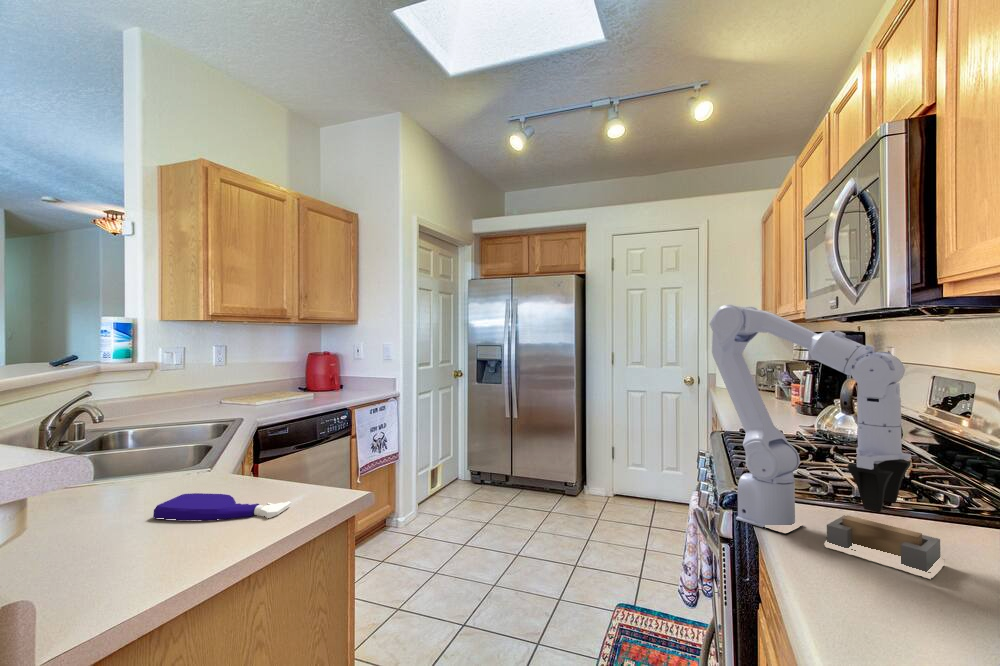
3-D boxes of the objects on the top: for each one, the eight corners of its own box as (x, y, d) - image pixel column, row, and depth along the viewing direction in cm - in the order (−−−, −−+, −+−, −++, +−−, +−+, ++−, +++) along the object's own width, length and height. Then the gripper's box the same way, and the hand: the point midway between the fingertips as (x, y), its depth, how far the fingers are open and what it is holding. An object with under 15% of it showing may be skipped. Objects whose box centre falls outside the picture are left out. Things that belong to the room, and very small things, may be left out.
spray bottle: (147, 508, 92) (268, 512, 91) (187, 491, 103) (295, 494, 102) (147, 523, 92) (268, 527, 91) (186, 504, 103) (294, 508, 102)
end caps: (826, 542, 80) (826, 524, 81) (844, 531, 85) (844, 515, 85) (926, 572, 70) (926, 551, 70) (940, 558, 75) (940, 539, 75)
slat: (842, 541, 81) (842, 518, 81) (847, 538, 82) (847, 515, 82) (918, 563, 73) (917, 537, 73) (922, 558, 74) (922, 533, 74)
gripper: (895, 432, 71) (897, 522, 70) (922, 423, 79) (924, 503, 79) (840, 425, 76) (842, 509, 76) (871, 418, 85) (872, 493, 84)
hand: (880, 505), depth 78 cm, fingers open, 7 cm apart
